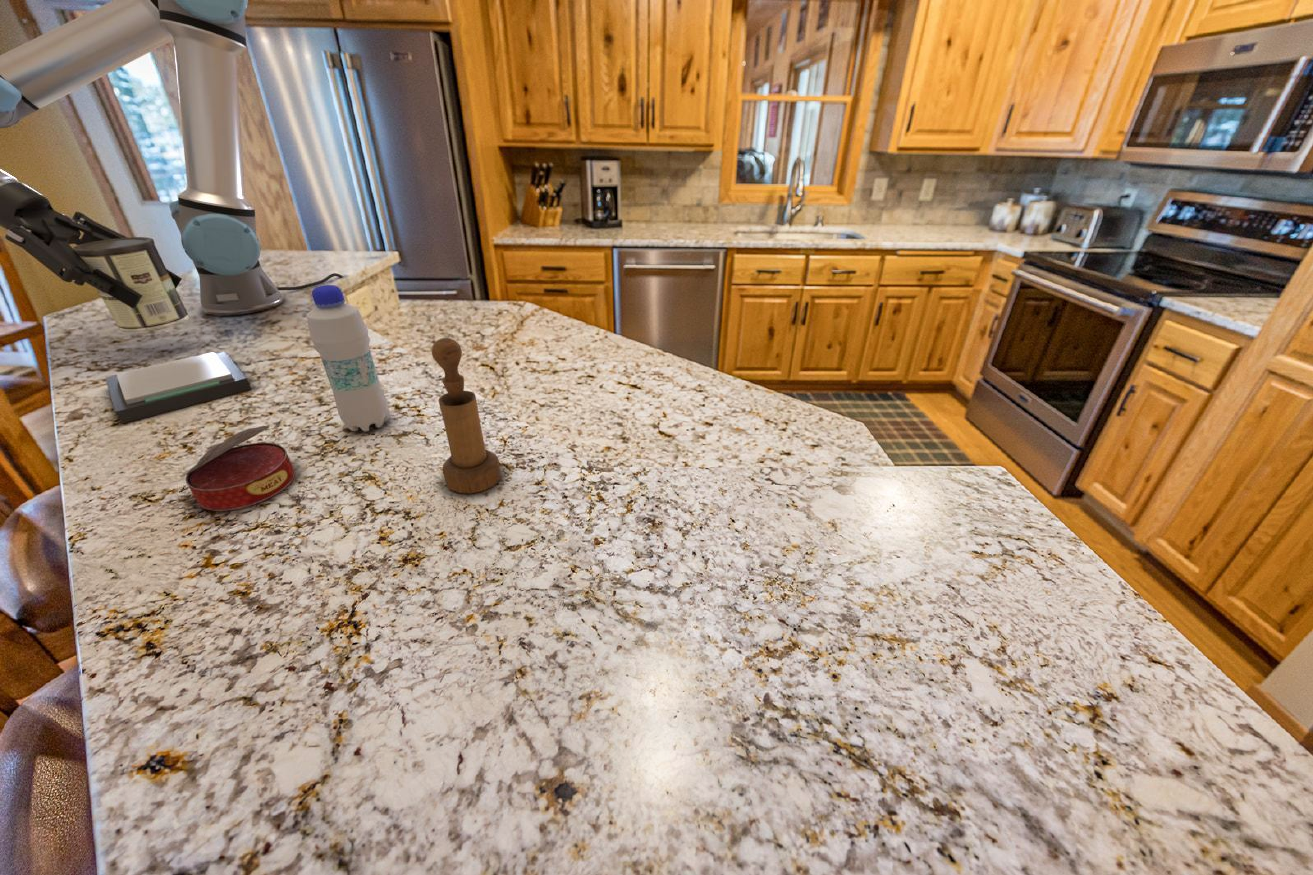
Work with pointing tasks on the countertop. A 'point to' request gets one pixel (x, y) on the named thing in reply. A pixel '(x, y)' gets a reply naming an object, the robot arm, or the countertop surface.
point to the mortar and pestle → (463, 428)
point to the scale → (174, 385)
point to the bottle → (347, 359)
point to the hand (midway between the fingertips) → (158, 292)
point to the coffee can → (136, 282)
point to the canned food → (239, 473)
